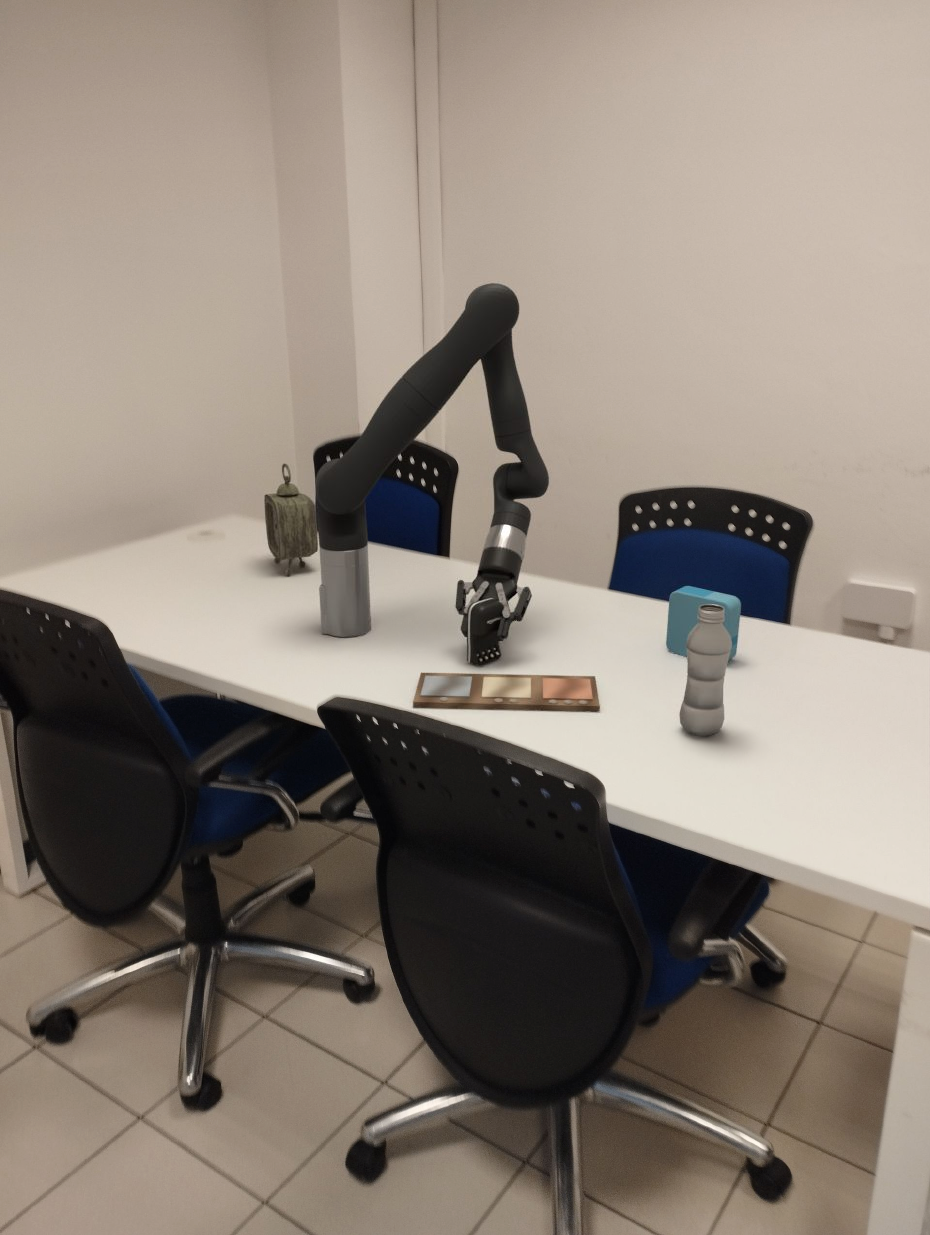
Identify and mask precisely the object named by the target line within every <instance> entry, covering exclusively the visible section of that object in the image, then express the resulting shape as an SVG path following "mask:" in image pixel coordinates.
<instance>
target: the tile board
mask: <svg viewBox="0 0 930 1235" xmlns="http://www.w3.org/2000/svg"><path fill="white" fill-rule="evenodd" d="M600 706H601V704H600V699H599V693H598V687H597V680H596V676H594V675H558V674H557V675H554V674H553V675H552V674H551V675H550V674H508V673H507V674H506V673H505V674H504V673H503V674H502V673H500V674H499V673H466V672H465V673H463V672H462V673H459V672H458V673H456V672H455V673H454V672H420V675H419V678H418V682H417V686H416V688H415V693H414V696H413V701H412V708H421V709H423V708H424V709H459V710H460V709H464V710H465V709H467V710H469V709H470V710H502V711H503V710H504V711H505V710H507V711H512V710H513V711H547V712H548V711H549V712H550V711H551V712H552V711H553V712H586V711H591V713H594V712H595V713H597V711H600V712H601V710H600V709H601V708H600Z"/></svg>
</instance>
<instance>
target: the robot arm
mask: <svg viewBox="0 0 930 1235" xmlns="http://www.w3.org/2000/svg"><path fill="white" fill-rule="evenodd" d="M519 315H520V302H519V299H518V297H517V295H516V293H515V292H514V291H513V289H511V288H510V287H509V286H506V285H504V284H502V283H494V282H492V283H491V282H490V283H486V284H482V285H479V286H477V287H476V288H475V289H473V290H472V291H471V293H470V294H469V295H468V298H467V299H466V302H465V305H464V309H463V312H462V313H461V314H460V316H459V317H458V319H457V320H456V321H455V323H454V324H453V325H452V326H451V328H450V329H449V331H448V332H447V333H446V334H445V335H444V337H443V338H442V339H441V340H440V341H438V342H437V344H435V345H434V346H432V347H431V349H429V350H428V351H427V352H426V353H424V354H423V355H422V356H421V357H419V358H418V360H417V361H416V362H414V364H412V365H411V367H409V368H408V369H407V370H406V371H405V372H404V374H403V375H402V376H401V377H399V379H398V380H397V382H396V383H395V384H394V385H393V386H392V388H391V389H389V391H388V392H387V394H386V395H385V396H384V398H383V399H382V401H381V402H380V404H379V406H378V407H377V408H376V410H375V411H374V413H373V415H372V417H371V418H370V419H369V422H368V423H367V426H366V427H365V429H364V431H363V432H362V433H361V435H360V437H359V438H358V439H357V440H356V441H355V443H354V444H353V445H352V446H351V447H350V448H349V449H348V450H347V451H346V452H345V453H343V455H342V456H341V457H340V458H334V459H331V460H328V461H327V462H325V463H324V464H323V465H322V466H321V467H320V469H319V470H318V472H317V474H316V477H315V495H316V496H315V497H316V516H317V535H318V548H319V561H320V577H321V578H320V580H321V584H320V585H319V587H318V588H319V589H318V593H319V609H320V625H321V626H320V627H321V634H322V635H324V634H325V635H329V636H334V637H342V638H347V637H356V636H362V635H365V634H366V633H369V632H370V631H371V629H372V616H371V613H372V612H371V592H370V591H371V590H370V589H371V588H370V567H369V563H370V562H369V547H368V546H369V544H368V543H369V540H368V539H369V538H368V525H367V513H366V512H367V508H366V507H367V506H366V499H367V497H368V495H369V494H370V493H371V491H372V489H373V488H374V486H375V485H376V484H377V482H378V481H379V480H380V478H381V477H382V475H383V474H384V472H385V471H387V468H389V466H390V465H391V464H392V463H393V462H394V461H395V459H396V458H397V457H399V456H400V454H402V453H403V452H404V450H406V449H407V447H409V446H410V445H411V444H412V443H413V441H415V439H416V438H417V437H418V436H419V435H420V434H421V433H422V432H423V431H424V429H426V427H428V426H429V425H430V424H431V422H432V421H433V420H434V418H436V416H437V415H438V414H439V413H440V411H441V410H442V409H443V408H444V406H445V405H446V404H447V402H448V401H449V400H450V399H451V397H452V396H453V395H454V394H455V392H456V391H457V390H458V388H459V387H460V386H461V384H462V383H463V381H464V380H465V379H466V377H467V376H468V374H469V373H470V371H472V369H473V367H474V366H476V365H477V363H478V362H480V363H481V366H482V371H483V375H484V381H485V382H484V383H485V388H486V395H487V399H488V402H487V403H488V407H489V408H488V409H489V414H490V419H491V426H492V431H493V435H494V436H493V437H494V441H495V446H496V448H497V449H498V450H499V451H501V452H505V453H510V454H513V455H516V457H517V458H518V459H519V461H516V462H506V463H503V464H500V466H498V467H497V469H495V472H494V474H493V478H492V482H493V483H492V486H493V487H492V488H493V515H492V519H491V523H490V525H489V526H490V528H489V530H488V533H487V535H486V538H485V542H484V545H483V550H482V553H481V557H480V560H479V565H478V569H477V573H476V577H475V578H474V579H473V580H472V581H468V582H467V581H466V582H465V581H464V580H463V579H459V580H458V581H457V584H456V597H455V610H456V611H457V613H458V615H459V616H462V620H461V625H460V632H461V633H462V635H463V636H464V638H467V610H468V607H469V606H470V605H471V604H472V603H474V602H477V601H480V600H483V599H487V598H494V599H495V600H497V601H500V602H501V603H502V604H503V606H504V610H503V611H502V613H503V618H501V621H500V626H499V630H498V634H497V638H498V641H499V642H501V643H502V642H504V640H507V639H508V636H509V633H510V632H509V631H510V628H511V624H512V623H513V622H522V621H523V619H524V618H525V615H526V612H527V609H528V606H529V604H530V602H531V600H532V597H533V594H532V592H531V589H530V587H529V586H524V587H520V586H519V585H518V581H519V576H520V573H521V568H522V564H523V560H524V557H525V551H526V545H527V544H526V541H527V536H528V532H529V528H530V523H531V519H532V513H531V511H530V508H529V507H528V506H526V505H525V504H523V503H521V502H520V501H515V500H524V499H525V500H527V499H537V498H541V497H543V496H544V495H545V494H546V492H547V491H548V489H549V486H550V485H549V483H550V477H549V471H548V469H547V467H546V466H547V465H546V464H545V461H544V460H543V458H542V456H541V453H540V452H539V448H538V447H537V444H536V441H535V439H534V436H533V433H532V426H531V421H530V420H531V419H530V415H529V410H528V405H527V401H526V400H527V399H526V395H525V392H524V389H523V386H522V382H521V380H520V376H519V372H518V369H517V364H516V359H515V356H514V355H515V354H514V348H513V345H514V344H513V329H514V327H515V326H516V324H517V322H518V321H519V320H518V319H519ZM471 590H473V591H474V592H475V593H474V594H473V595H472V597H471V598H470V601H469V602H468V604H467V602H466V601H467V596H468V595H469V594H470V592H471ZM516 595H517V597H518V601H517V603H516V606H515V608H514V610H513V611H511V609H510V604H509V601H510V600H512V599H513V597H515V596H516ZM466 604H467V605H466Z"/></svg>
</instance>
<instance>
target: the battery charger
mask: <svg viewBox="0 0 930 1235" xmlns="http://www.w3.org/2000/svg"><path fill="white" fill-rule="evenodd" d="M503 610H504V606H503V604H502V603H501V602H500V601H497V600H495V599H494V598H487V599H483V600H480V601H477V602H474V603H472V604H471V605H470V606H469V607H468V610H467V637H466V662H467V663H468V664H470V665H471V664H472V665H474V666H478V667H479V666H484V665H487V664H491V663H493V662H495V661H497V660H500V659H501V658H502V651H501V648H500V641H498V638H497V634H498V630H499V626H500V621H501V618H503V613H502V611H503Z"/></svg>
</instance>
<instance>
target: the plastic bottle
mask: <svg viewBox="0 0 930 1235" xmlns="http://www.w3.org/2000/svg"><path fill="white" fill-rule="evenodd" d="M724 612H725V610H724V607H722V606H719V605H714V604H704V605H701V606H699V610H698V615H697V619H698V620H699V623H698V624H697V625H696V626H695V627H694V628H693V629H692V631H691V632H690V633H689V635H688V637H687V658H686V660H687V661H686V662H687V671H686V672H687V676H686V684H685V691H684V696H683V700H682V702H681V706H680V709H679V724H680V725H681V727H682V728H683V730H684V731H686V732H687V733H689V734H692V735H697V736H712V735H715V734H717V733H718V732H719V731H720V730H721V729H722V727H723V725H724V722H725V706H724V684H725V676H726V672H727V666H728V661H729V660H728V659H729V655H730V650H731V646H732V641H731V636H730V635H729V633H728V631H727V630H726V628H725V627H724V626H723V624H722V623H723V622H724V621H725V617H724Z"/></svg>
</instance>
